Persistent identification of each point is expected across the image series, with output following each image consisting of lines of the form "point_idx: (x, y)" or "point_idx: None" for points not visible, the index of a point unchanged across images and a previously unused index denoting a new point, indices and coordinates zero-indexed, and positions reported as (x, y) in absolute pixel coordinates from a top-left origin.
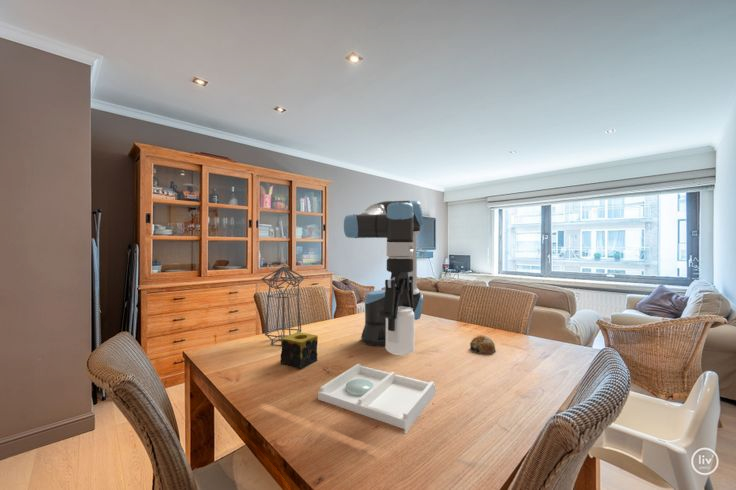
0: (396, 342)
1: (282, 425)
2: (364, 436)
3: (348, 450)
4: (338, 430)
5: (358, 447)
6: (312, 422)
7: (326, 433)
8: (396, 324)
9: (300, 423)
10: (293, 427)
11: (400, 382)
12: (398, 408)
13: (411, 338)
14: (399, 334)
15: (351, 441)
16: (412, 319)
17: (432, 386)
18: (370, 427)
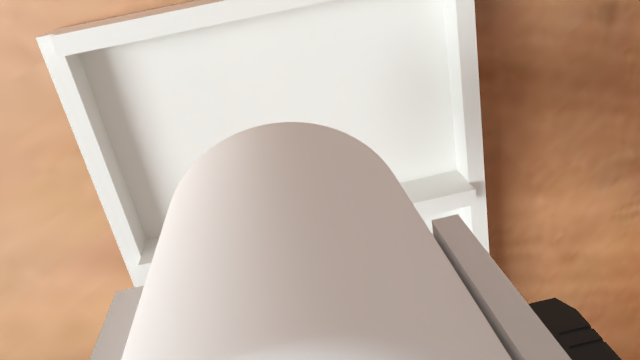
0: (459, 221)
1: (633, 296)
2: (547, 66)
3: (636, 54)
4: (566, 158)
5: (608, 39)
6: (575, 250)
7: (599, 174)
8: (551, 339)
9: (598, 270)
10: (625, 267)
11: (135, 213)
12: (340, 72)
13: (308, 167)
14: (445, 255)
15: (593, 81)
16: (309, 295)
17: (85, 27)
18: (490, 87)
